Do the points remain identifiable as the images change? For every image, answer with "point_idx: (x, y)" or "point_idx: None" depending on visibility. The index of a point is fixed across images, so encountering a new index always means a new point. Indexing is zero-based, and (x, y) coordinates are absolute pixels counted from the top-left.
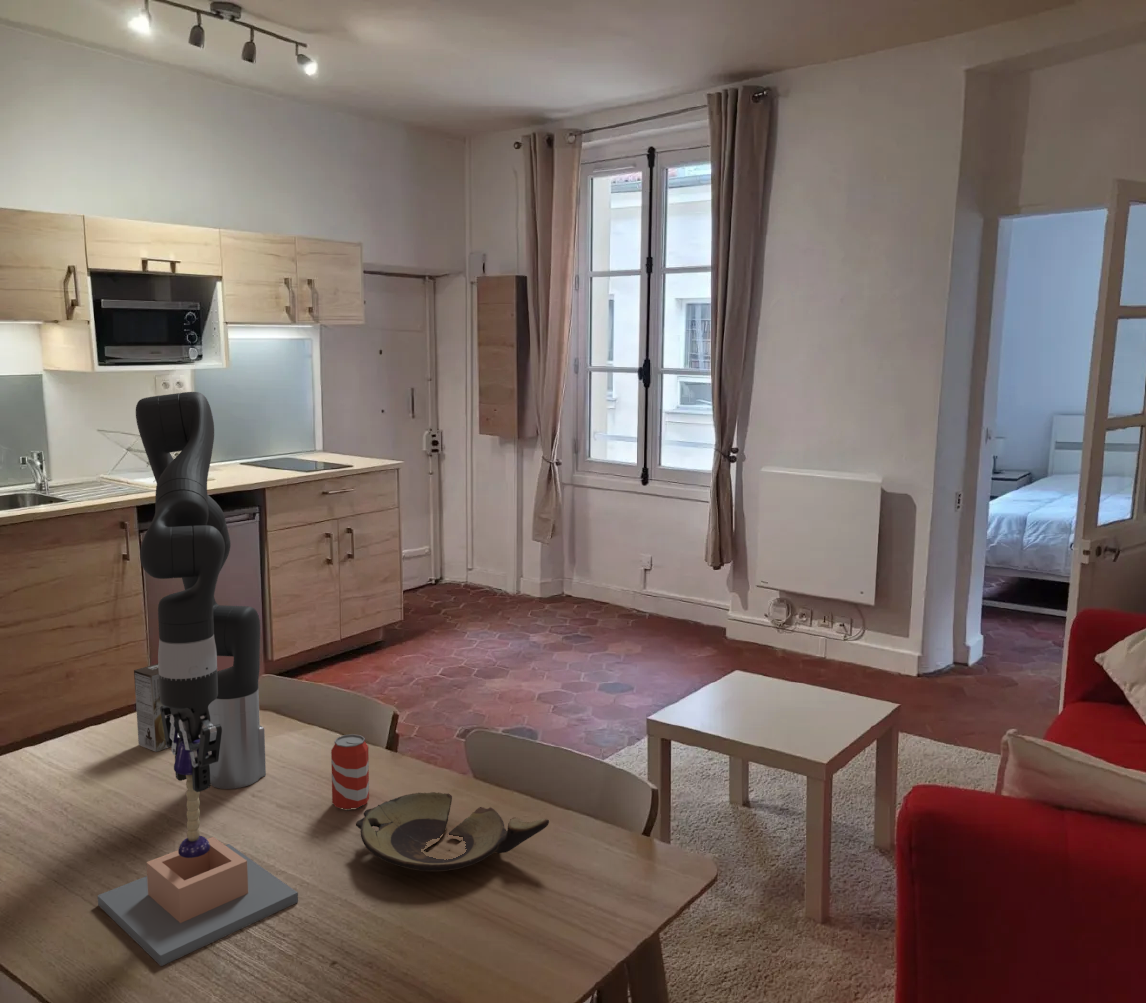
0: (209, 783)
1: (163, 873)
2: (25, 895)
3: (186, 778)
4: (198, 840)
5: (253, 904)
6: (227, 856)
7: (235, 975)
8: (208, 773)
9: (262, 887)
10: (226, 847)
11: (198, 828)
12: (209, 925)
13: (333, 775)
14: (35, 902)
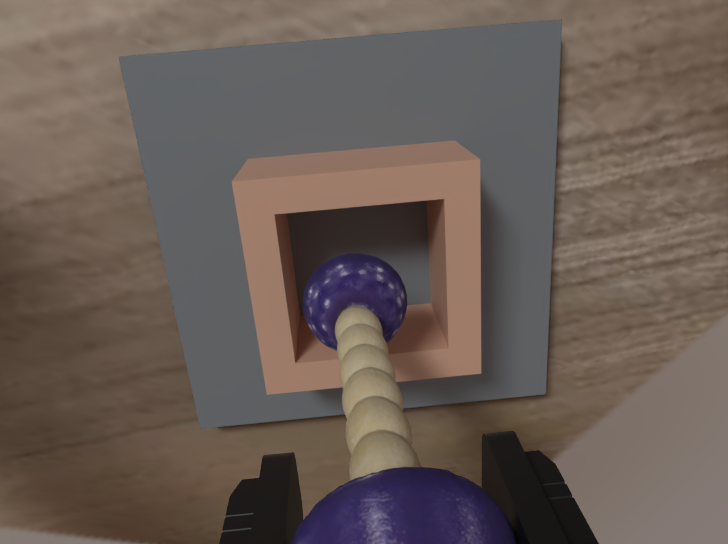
0: (553, 464)
1: None
2: (61, 510)
3: (297, 478)
4: (380, 312)
5: (519, 154)
6: (403, 198)
7: (687, 280)
8: (581, 518)
9: (457, 93)
10: (342, 176)
11: (367, 324)
12: (520, 278)
13: None
14: (107, 501)
